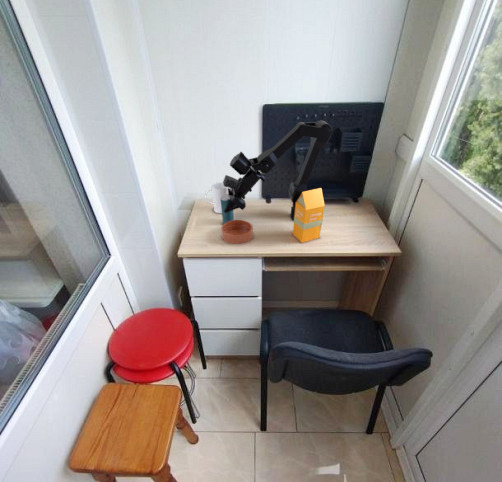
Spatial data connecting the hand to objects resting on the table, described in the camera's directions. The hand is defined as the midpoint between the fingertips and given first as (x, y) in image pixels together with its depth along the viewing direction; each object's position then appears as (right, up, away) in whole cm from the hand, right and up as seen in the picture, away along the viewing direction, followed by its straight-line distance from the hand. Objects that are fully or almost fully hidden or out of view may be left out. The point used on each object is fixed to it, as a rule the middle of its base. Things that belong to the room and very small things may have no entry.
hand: (224, 209), depth 126 cm
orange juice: (+36, -13, -4) cm, 38 cm away
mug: (-4, +5, +16) cm, 17 cm away
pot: (+6, -13, -3) cm, 15 cm away
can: (+1, -4, +4) cm, 6 cm away
